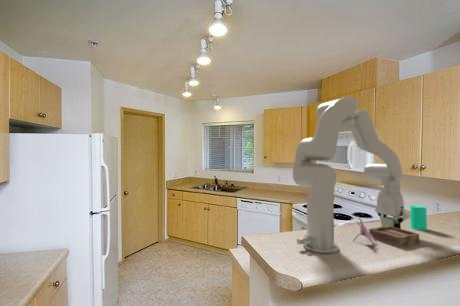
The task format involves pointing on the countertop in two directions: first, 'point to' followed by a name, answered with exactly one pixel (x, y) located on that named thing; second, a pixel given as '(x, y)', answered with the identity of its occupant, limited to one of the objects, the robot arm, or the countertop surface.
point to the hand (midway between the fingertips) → (390, 229)
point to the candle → (418, 217)
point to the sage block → (388, 221)
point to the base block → (394, 236)
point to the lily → (364, 232)
